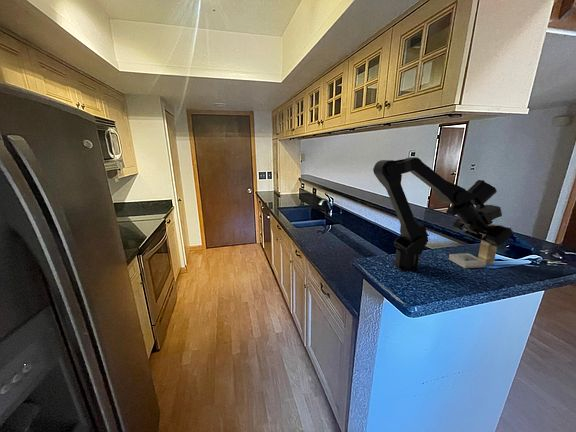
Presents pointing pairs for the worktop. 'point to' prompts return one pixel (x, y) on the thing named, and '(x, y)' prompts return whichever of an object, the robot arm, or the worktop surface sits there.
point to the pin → (487, 251)
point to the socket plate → (471, 263)
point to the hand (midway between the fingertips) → (492, 244)
